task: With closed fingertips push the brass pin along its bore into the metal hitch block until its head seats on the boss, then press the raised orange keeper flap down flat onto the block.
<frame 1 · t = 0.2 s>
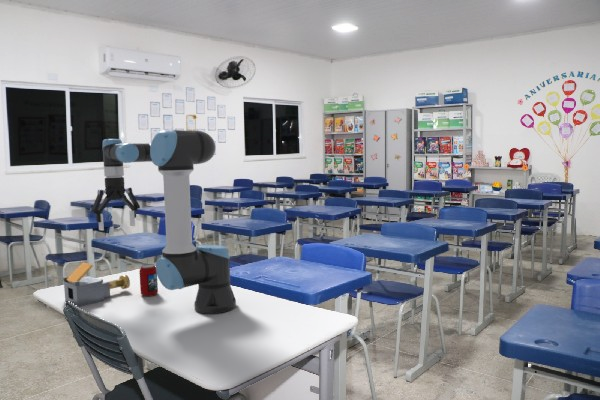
hand: (117, 228, 202), 27 cm above the table, fingers open, 13 cm apart
beverage can: (149, 295, 199), on the table
keeper flap: (79, 272, 190), point 11 cm above the table, hinge at 40.0°
hitch block: (89, 299, 194), on the table
pin: (108, 285, 199), point 4 cm above the table, slide at 0.0 cm
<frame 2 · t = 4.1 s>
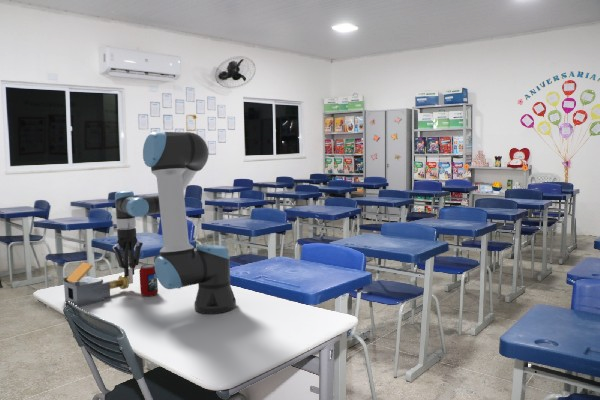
hand: (129, 282, 206), 3 cm above the table, fingers closed
pin: (107, 285, 199), point 4 cm above the table, slide at 0.4 cm, touching gripper
everything else where it was.
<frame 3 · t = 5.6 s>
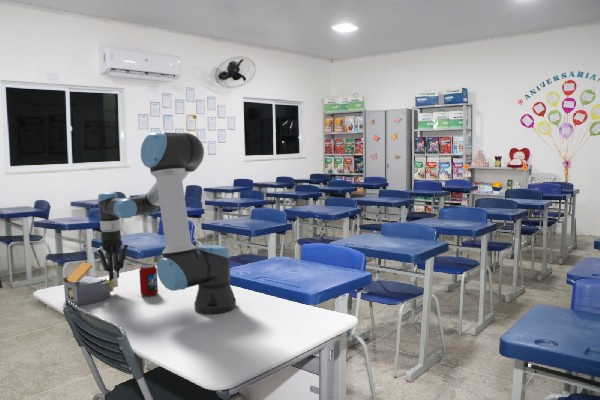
hand: (114, 286, 201), 3 cm above the table, fingers closed
pin: (91, 289, 194), point 4 cm above the table, slide at 7.0 cm, touching gripper, hitch block
everything else where it was.
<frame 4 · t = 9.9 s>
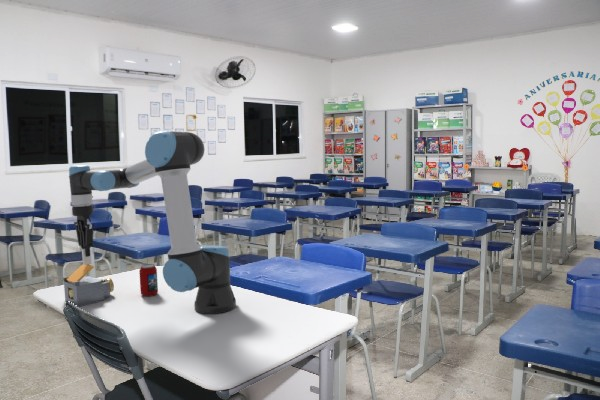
hand: (87, 264, 193), 14 cm above the table, fingers closed
keeper flap: (80, 273, 191), point 11 cm above the table, hinge at 35.7°, touching gripper
pin: (91, 289, 194), point 4 cm above the table, slide at 7.0 cm, touching hitch block
everything else where it was.
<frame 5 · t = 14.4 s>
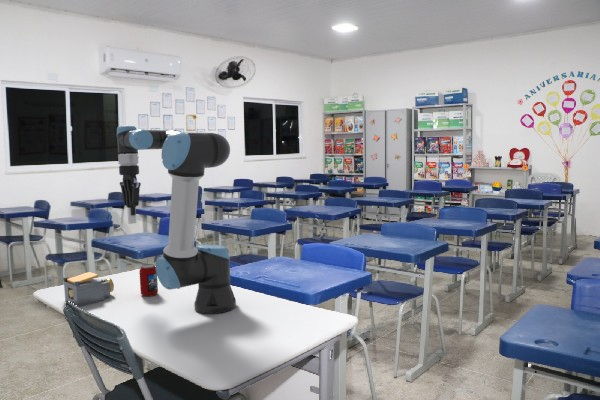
hand: (132, 223, 197), 29 cm above the table, fingers closed
keeper flap: (82, 277, 191), point 9 cm above the table, hinge at 7.8°
everything else where it was.
at the end: pin slide at 7.0 cm; keeper flap at +8° (first picture: +40°) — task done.
